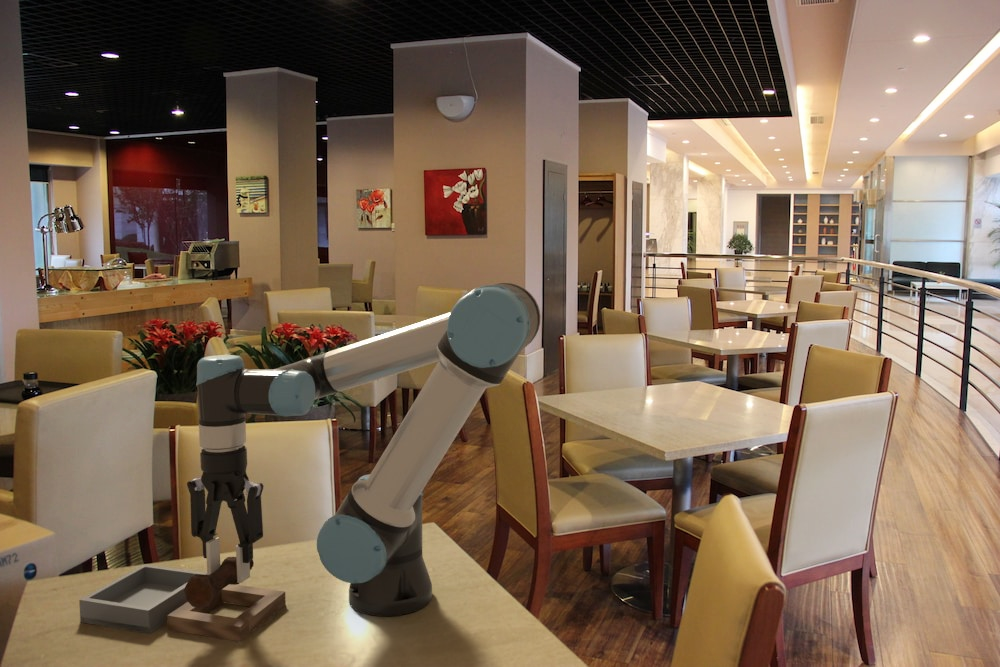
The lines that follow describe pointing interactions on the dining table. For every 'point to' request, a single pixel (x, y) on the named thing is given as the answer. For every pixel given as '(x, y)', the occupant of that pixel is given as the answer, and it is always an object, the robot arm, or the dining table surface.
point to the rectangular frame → (227, 627)
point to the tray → (137, 599)
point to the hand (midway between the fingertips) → (228, 577)
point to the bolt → (211, 584)
